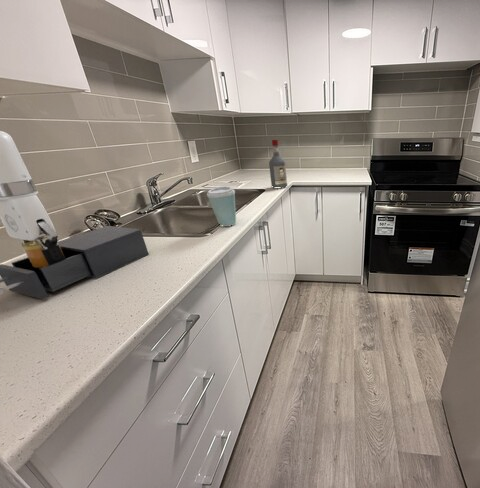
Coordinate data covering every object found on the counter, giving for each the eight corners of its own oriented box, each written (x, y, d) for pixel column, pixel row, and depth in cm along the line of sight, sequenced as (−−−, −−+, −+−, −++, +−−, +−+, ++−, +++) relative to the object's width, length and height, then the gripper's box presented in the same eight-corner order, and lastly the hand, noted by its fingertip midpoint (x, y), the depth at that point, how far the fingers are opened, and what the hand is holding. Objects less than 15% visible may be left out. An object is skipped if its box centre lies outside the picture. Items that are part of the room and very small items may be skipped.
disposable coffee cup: (234, 229, 104) (227, 191, 98) (208, 229, 105) (200, 191, 99) (244, 220, 113) (238, 185, 107) (220, 220, 114) (213, 186, 108)
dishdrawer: (97, 278, 71) (84, 250, 67) (62, 271, 75) (48, 244, 72) (149, 254, 84) (140, 229, 81) (117, 249, 89) (107, 225, 85)
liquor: (270, 187, 179) (264, 140, 167) (281, 185, 184) (277, 139, 172) (277, 189, 172) (272, 140, 160) (288, 187, 178) (284, 139, 166)
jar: (27, 270, 63) (15, 249, 60) (39, 260, 68) (28, 240, 66) (60, 264, 65) (50, 243, 63) (69, 254, 70) (60, 235, 68)
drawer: (14, 312, 57) (-3, 285, 54) (-20, 301, 61) (-37, 276, 58) (107, 269, 73) (98, 247, 71) (75, 263, 77) (66, 242, 75)
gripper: (-33, 192, 59) (9, 263, 66) (11, 195, 53) (52, 272, 60) (12, 185, 65) (46, 251, 72) (56, 187, 60) (87, 258, 67)
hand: (48, 260), depth 66 cm, fingers closed on jar, 6 cm apart
